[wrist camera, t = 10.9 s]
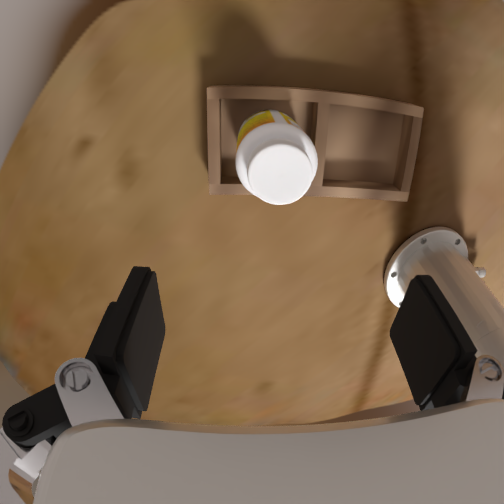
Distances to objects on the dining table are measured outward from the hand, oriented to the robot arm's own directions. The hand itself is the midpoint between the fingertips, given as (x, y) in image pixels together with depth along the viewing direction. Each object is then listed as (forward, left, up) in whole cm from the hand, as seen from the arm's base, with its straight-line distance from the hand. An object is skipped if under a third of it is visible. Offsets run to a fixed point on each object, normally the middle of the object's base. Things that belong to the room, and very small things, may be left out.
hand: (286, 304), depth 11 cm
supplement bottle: (-1, -1, -20) cm, 20 cm away
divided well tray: (-5, -1, -21) cm, 22 cm away
